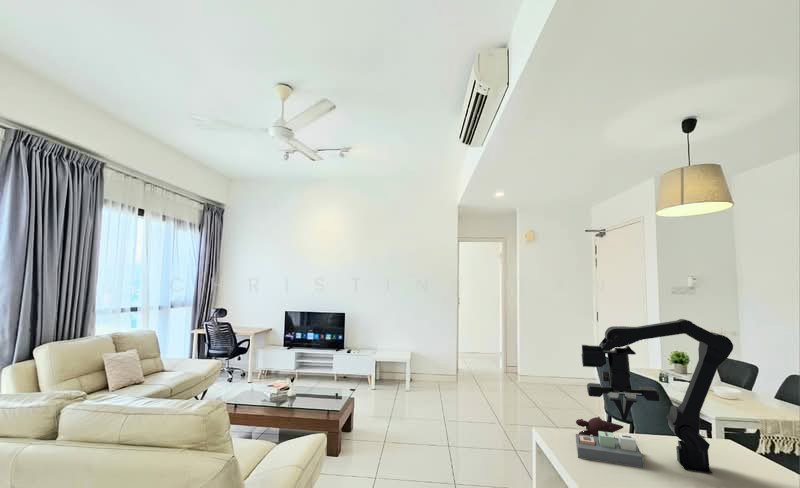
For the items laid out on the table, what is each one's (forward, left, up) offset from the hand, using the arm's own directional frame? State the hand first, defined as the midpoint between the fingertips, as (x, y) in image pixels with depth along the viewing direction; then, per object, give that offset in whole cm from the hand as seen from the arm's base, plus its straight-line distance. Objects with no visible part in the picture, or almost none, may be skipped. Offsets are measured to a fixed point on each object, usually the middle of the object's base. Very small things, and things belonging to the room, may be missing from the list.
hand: (624, 420), depth 115 cm
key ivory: (0, 0, -8) cm, 8 cm away
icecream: (+6, -14, -11) cm, 18 cm away
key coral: (+11, 0, -11) cm, 15 cm away
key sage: (+5, 0, -8) cm, 10 cm away
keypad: (+5, 0, -11) cm, 12 cm away
